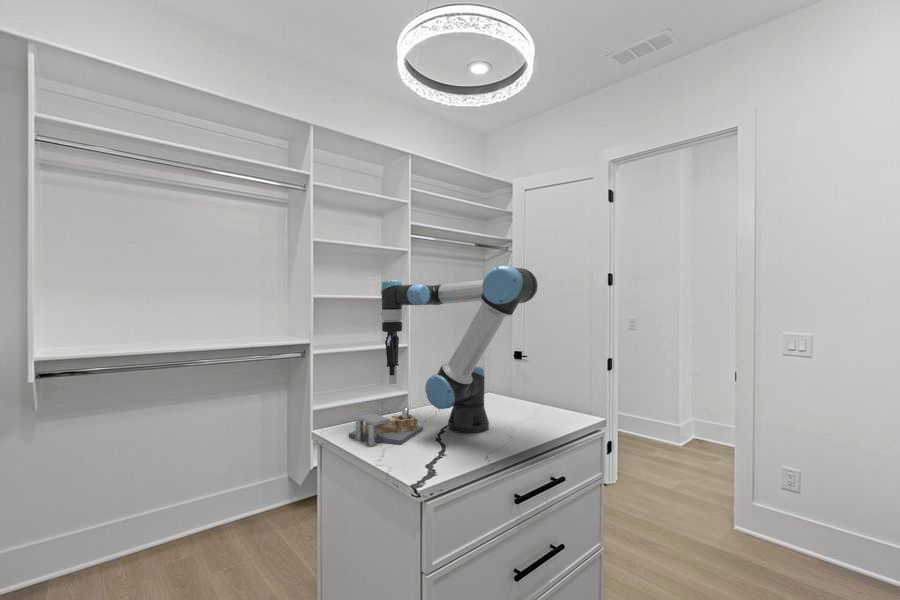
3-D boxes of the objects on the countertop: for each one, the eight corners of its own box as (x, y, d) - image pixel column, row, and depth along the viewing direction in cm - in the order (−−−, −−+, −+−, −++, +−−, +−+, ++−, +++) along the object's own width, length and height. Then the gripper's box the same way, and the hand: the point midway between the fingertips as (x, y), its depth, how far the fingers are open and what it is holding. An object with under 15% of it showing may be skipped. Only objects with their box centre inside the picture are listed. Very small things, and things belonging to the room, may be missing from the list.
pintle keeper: (409, 431, 158) (409, 407, 158) (383, 447, 141) (383, 421, 141) (378, 427, 163) (378, 404, 163) (349, 443, 146) (349, 417, 146)
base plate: (422, 430, 160) (422, 426, 160) (401, 444, 144) (401, 440, 144) (374, 424, 167) (374, 420, 167) (348, 437, 151) (348, 433, 151)
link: (410, 425, 161) (410, 414, 161) (417, 430, 155) (417, 418, 155) (364, 430, 154) (364, 419, 154) (369, 436, 148) (369, 424, 148)
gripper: (386, 320, 174) (387, 380, 174) (377, 321, 161) (378, 386, 161) (405, 320, 173) (406, 380, 173) (398, 321, 161) (398, 386, 160)
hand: (392, 383), depth 167 cm, fingers closed
